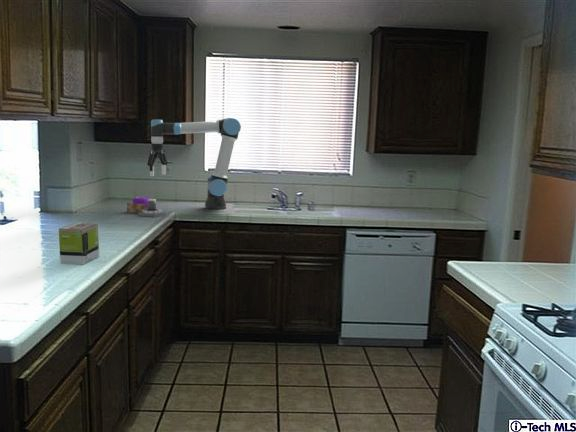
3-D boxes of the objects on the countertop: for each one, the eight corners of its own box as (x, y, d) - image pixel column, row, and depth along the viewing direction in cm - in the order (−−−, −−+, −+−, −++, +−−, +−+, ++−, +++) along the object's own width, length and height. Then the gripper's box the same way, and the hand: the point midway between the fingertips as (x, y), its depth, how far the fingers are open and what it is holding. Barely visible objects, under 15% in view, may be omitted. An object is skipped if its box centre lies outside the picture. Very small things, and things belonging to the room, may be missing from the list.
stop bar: (145, 213, 351) (145, 204, 350) (143, 213, 349) (143, 204, 348) (129, 211, 356) (129, 202, 355) (127, 212, 354) (127, 203, 353)
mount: (165, 214, 349) (165, 209, 348) (154, 217, 338) (154, 211, 337) (150, 213, 353) (150, 207, 353) (138, 215, 342) (138, 210, 342)
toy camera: (155, 210, 365) (155, 195, 364) (147, 213, 352) (146, 198, 350) (140, 209, 367) (140, 195, 365) (131, 212, 353) (131, 197, 352)
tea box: (77, 255, 232) (76, 221, 230) (99, 257, 231) (99, 222, 229) (59, 264, 217) (58, 227, 215) (83, 265, 216) (82, 228, 214)
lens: (151, 211, 348) (151, 198, 347) (157, 211, 347) (157, 199, 345) (146, 212, 344) (146, 199, 343) (153, 212, 342) (152, 200, 341)
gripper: (162, 142, 372) (163, 173, 375) (141, 143, 348) (142, 176, 352) (172, 143, 369) (172, 174, 372) (151, 143, 346) (152, 176, 349)
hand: (157, 175), depth 362 cm, fingers open, 13 cm apart
